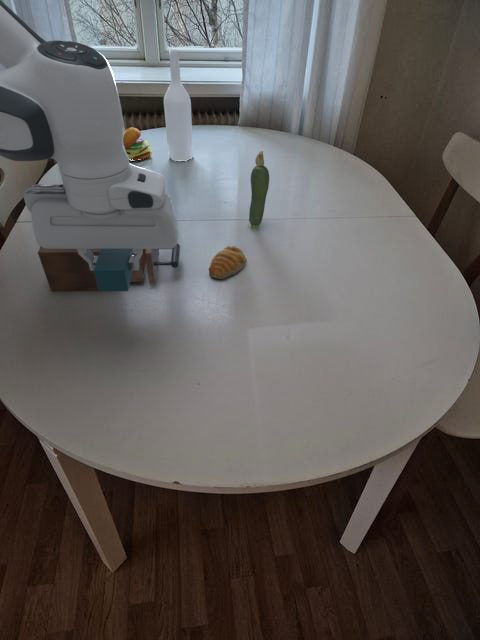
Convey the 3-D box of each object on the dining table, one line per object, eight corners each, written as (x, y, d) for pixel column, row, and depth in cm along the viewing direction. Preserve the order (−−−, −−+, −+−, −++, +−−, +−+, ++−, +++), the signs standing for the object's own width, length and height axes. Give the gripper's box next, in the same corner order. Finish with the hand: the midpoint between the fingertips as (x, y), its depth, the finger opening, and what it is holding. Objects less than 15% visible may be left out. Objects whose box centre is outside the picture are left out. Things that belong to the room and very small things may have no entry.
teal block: (128, 291, 66) (124, 270, 63) (98, 291, 66) (93, 270, 63) (134, 264, 71) (130, 243, 68) (106, 264, 71) (102, 243, 68)
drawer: (181, 253, 98) (179, 223, 93) (179, 284, 90) (176, 253, 85) (103, 254, 97) (96, 223, 92) (94, 285, 89) (86, 254, 84)
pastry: (227, 285, 92) (227, 270, 89) (200, 275, 94) (200, 261, 91) (248, 263, 98) (249, 249, 95) (223, 254, 100) (223, 240, 97)
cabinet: (126, 255, 99) (119, 218, 92) (117, 290, 89) (109, 251, 83) (65, 256, 98) (54, 218, 91) (51, 291, 89) (37, 252, 82)
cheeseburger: (154, 161, 136) (143, 130, 129) (122, 171, 136) (109, 141, 129) (152, 148, 143) (141, 118, 136) (121, 158, 143) (109, 128, 136)
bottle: (172, 163, 136) (162, 54, 115) (165, 153, 141) (156, 48, 121) (196, 160, 138) (191, 52, 118) (189, 151, 144) (183, 46, 123)
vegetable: (250, 222, 111) (254, 144, 97) (266, 224, 110) (272, 146, 97) (246, 231, 108) (250, 151, 94) (263, 233, 107) (269, 153, 93)
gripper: (11, 195, 55) (41, 281, 64) (172, 197, 56) (179, 280, 66) (26, 174, 59) (53, 256, 69) (175, 175, 61) (181, 256, 70)
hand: (115, 268), depth 67 cm, fingers closed on teal block, 4 cm apart
